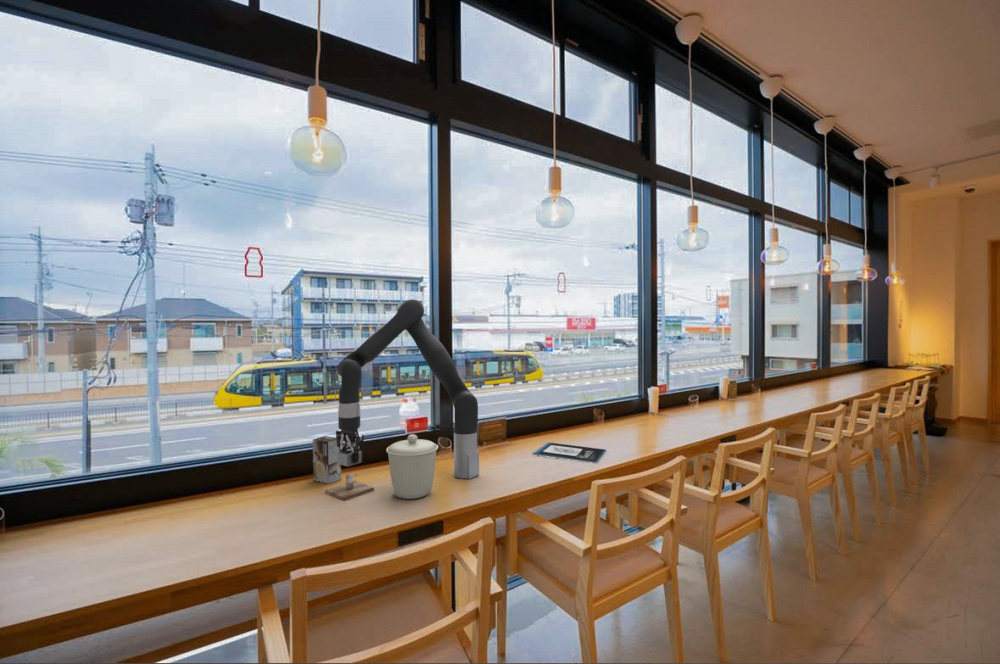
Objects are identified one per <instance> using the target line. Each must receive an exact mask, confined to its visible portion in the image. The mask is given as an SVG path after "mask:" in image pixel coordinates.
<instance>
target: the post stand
mask: <svg viewBox="0 0 1000 664" xmlns="http://www.w3.org/2000/svg"><path fill="white" fill-rule="evenodd" d="M373 491H375V487H374V486H371V485H368V484H365V483H362V482H360V481H357V480H354V473H347V474H345V483H343V484H340V485H337V486H334V487H330V488H327V489H325V490H324V492H325V494H327V493H328V494H327V495H329V494H330V496H332V495H333V496H332V497H334V496H335V498H338V499H339V498H340V500H342V499H343V501H344V500H345V501H348V500H350V498H351V499H353V497H354V498H356V496H357V497H359V496H362V495H364V493H365V494H367V492H368V493H369V492H373ZM361 494H362V495H361ZM358 495H359V496H358ZM347 499H348V500H347Z"/></svg>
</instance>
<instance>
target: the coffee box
mask: <svg viewBox="0 0 1000 664" xmlns="http://www.w3.org/2000/svg"><path fill="white" fill-rule="evenodd" d="M340 441H341V440H340ZM337 452H341V450H340V447H337V441H336V437H335V436H327V435H324V436H319V437H317V438H313V439H312V468H313V470H312V473H313V474H312V480H313V481H314V480H315V482H319V481H320V482H319V483H324V484H332V483H334V482H337V481H340V480H342V465H341V464H338V463H337Z"/></svg>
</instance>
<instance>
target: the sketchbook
mask: <svg viewBox="0 0 1000 664" xmlns="http://www.w3.org/2000/svg"><path fill="white" fill-rule="evenodd" d="M536 450H537V451H536ZM605 451H606V452H607V449H605V448H596V447H588V446H581V445H580V446H578V445H574V444H564V443H556V442H549V441H546V442H545V443H543V444H542V445H541V446H539V447H538V448H537V449H535V450H534V451H533V452H532V453H531V455H532V454H533V455H540V456H549V457H555V458H554V459H556V458H563V459H562V460H564V459H570V460H569V461H572V460H578V461H577V462H580V461H584V462H583V463H588V462H592V463H591V464H595V463H596V464H597V463H598V462H599V461H600V460H601V458H602V457H603V456H604V455H605V453H606V452H605ZM604 452H605V453H604ZM533 455H532V456H533ZM602 455H603V456H602ZM540 456H539V457H540ZM601 456H602V457H601ZM598 460H599V461H598Z"/></svg>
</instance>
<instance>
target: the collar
mask: <svg viewBox="0 0 1000 664" xmlns="http://www.w3.org/2000/svg"><path fill="white" fill-rule="evenodd" d="M358 454H359V460H358V463H354V464H353V463H352V451H351V448H349V449H348V450H345V451H341V452H337V463H338V464H341V466H345V467H351V466H355V465H357V464H361V463H363V460H362V458H363V450H362V451H360V452H359V453H358Z"/></svg>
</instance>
